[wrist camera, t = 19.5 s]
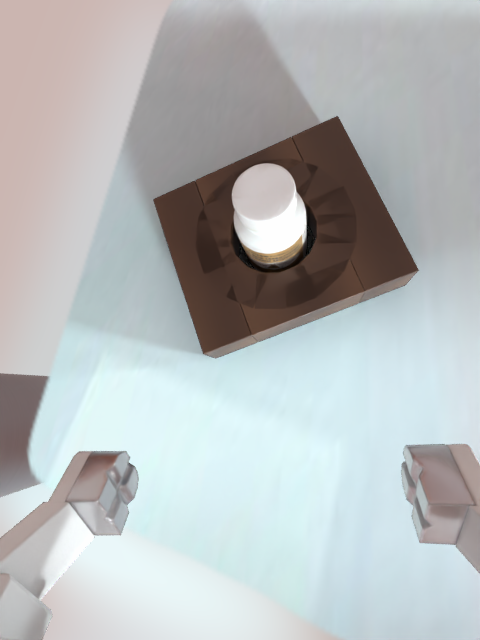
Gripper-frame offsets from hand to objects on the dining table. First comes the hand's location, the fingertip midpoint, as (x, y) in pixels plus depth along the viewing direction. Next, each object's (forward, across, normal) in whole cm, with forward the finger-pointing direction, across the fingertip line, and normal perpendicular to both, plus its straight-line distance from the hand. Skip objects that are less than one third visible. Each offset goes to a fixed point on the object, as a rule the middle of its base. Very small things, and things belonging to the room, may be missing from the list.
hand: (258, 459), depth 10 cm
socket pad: (+18, 0, -1) cm, 18 cm away
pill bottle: (+18, 0, -1) cm, 18 cm away
